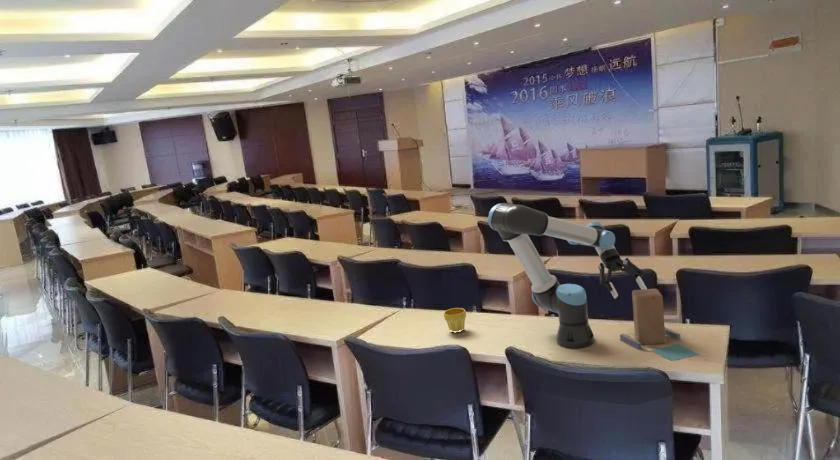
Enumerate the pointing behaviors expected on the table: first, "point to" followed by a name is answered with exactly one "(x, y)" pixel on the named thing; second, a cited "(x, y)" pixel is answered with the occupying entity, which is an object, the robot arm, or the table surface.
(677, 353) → the mat
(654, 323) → the wooden block
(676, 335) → the chute
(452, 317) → the plant pot
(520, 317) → the table surface
